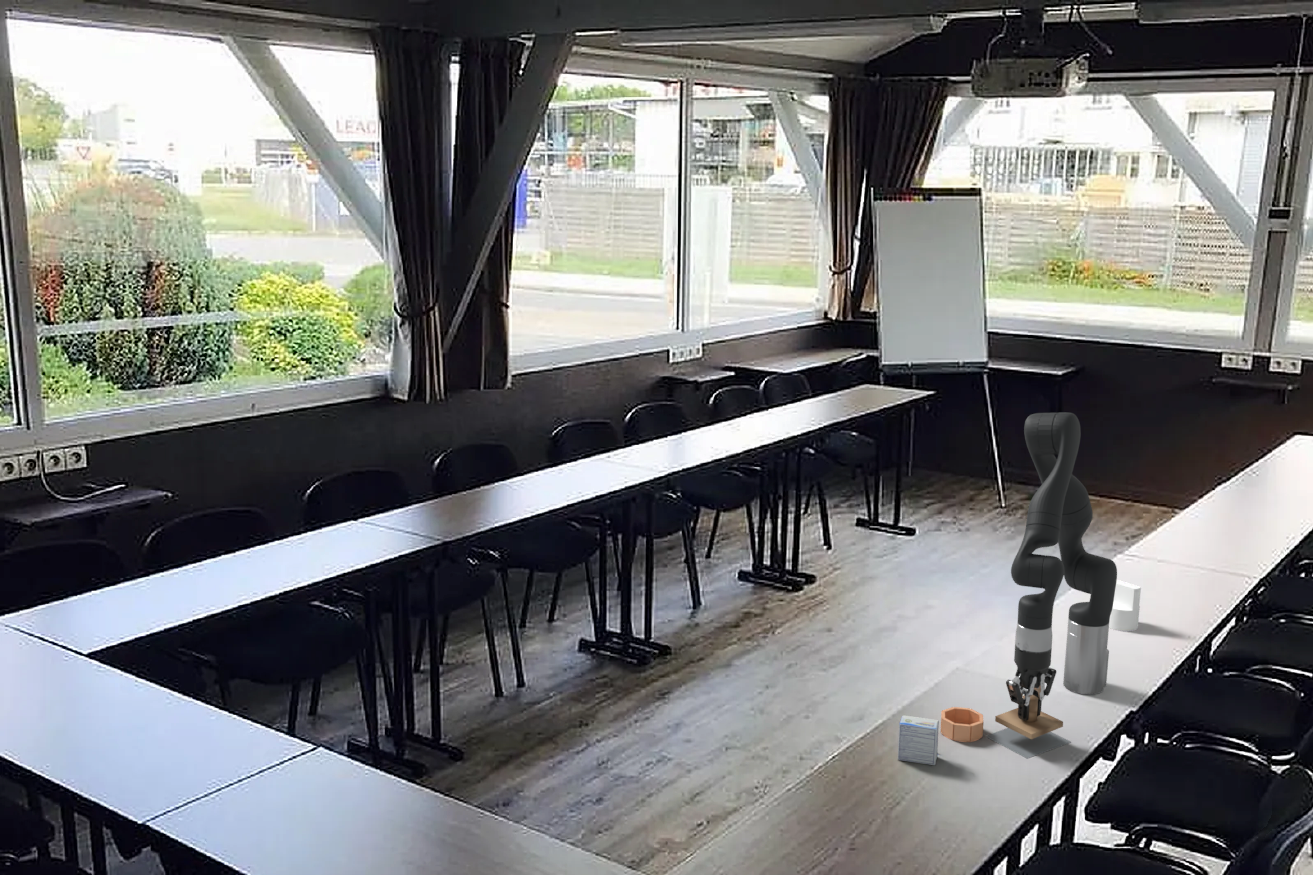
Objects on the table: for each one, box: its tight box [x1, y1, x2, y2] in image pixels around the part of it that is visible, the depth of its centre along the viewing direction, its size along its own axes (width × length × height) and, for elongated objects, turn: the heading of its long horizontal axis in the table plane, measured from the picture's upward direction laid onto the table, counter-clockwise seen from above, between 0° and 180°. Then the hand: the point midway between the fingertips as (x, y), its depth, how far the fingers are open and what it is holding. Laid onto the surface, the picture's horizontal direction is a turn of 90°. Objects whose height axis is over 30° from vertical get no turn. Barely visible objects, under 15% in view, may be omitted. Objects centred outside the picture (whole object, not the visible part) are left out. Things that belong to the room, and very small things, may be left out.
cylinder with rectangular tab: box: [1109, 579, 1142, 632], centre depth 325 cm, size 9×9×12 cm
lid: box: [994, 694, 1064, 739], centre depth 259 cm, size 10×10×6 cm
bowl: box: [940, 706, 984, 743], centre depth 264 cm, size 9×9×4 cm
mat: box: [984, 727, 1072, 759], centre depth 261 cm, size 14×12×1 cm
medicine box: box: [897, 714, 940, 766], centre depth 253 cm, size 8×4×9 cm, turn 71°
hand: (1029, 716), depth 259 cm, fingers closed on lid, 3 cm apart
